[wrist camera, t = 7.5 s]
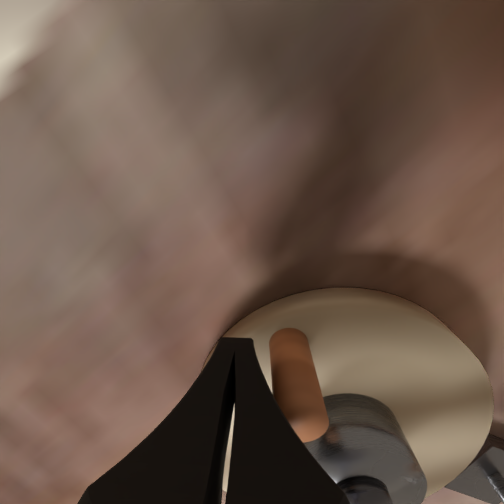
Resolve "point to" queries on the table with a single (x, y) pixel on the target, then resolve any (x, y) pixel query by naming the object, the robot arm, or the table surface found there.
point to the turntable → (373, 371)
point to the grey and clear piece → (484, 473)
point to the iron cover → (368, 452)
